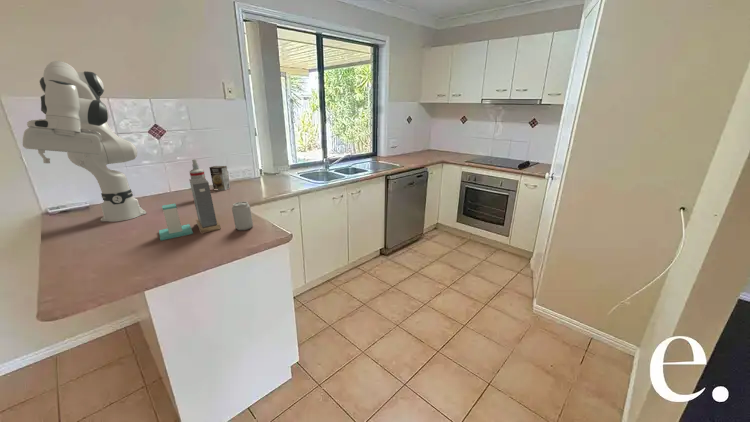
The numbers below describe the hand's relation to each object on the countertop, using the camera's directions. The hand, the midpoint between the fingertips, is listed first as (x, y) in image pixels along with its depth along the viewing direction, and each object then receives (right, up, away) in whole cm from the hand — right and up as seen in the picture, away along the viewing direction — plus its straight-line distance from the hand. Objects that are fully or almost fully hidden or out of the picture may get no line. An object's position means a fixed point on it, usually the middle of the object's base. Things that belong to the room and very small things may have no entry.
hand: (65, 164), depth 111 cm
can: (+54, -25, +28) cm, 66 cm away
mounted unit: (+36, -25, +31) cm, 53 cm away
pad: (+25, -27, +24) cm, 44 cm away
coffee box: (+7, -2, +100) cm, 100 cm away
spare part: (+25, -26, +23) cm, 43 cm away
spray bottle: (+8, -10, +75) cm, 76 cm away
